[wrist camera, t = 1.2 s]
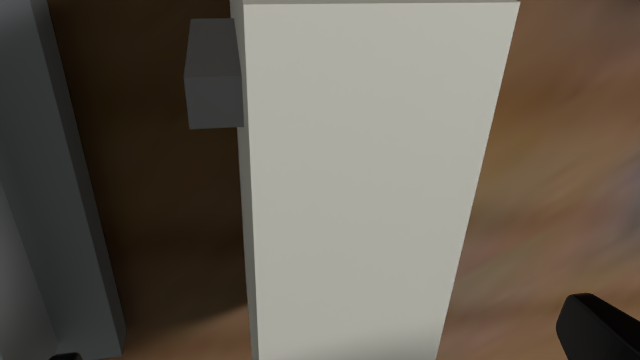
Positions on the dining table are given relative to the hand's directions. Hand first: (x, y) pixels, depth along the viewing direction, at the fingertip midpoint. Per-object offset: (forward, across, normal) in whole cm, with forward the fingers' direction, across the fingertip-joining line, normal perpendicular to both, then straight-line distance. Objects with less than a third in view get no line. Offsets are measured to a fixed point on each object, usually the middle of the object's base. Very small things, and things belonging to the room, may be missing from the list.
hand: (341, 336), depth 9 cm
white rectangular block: (+8, 0, 0) cm, 8 cm away
